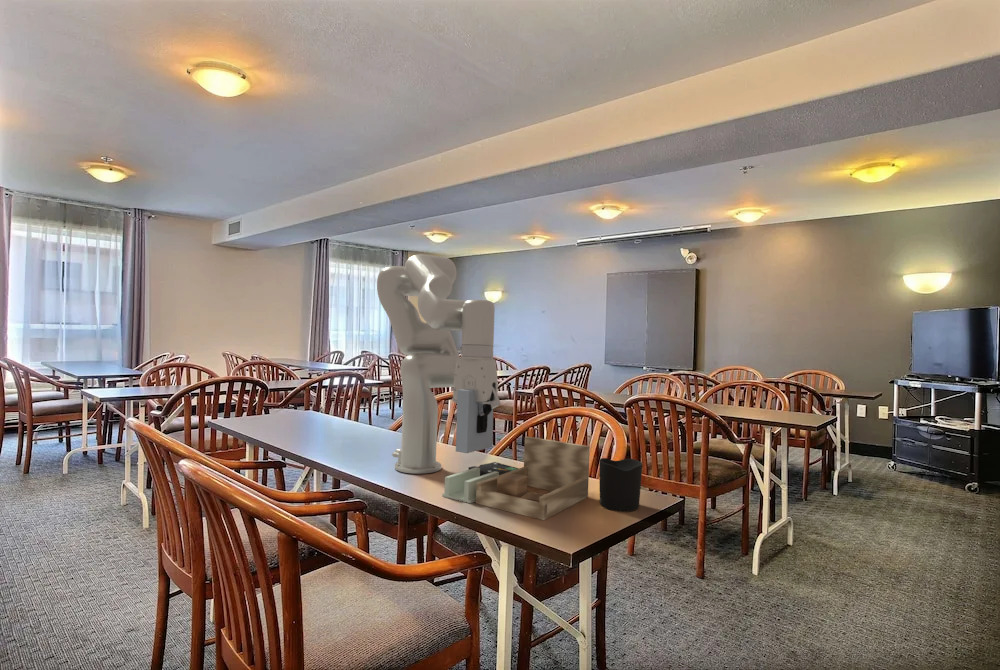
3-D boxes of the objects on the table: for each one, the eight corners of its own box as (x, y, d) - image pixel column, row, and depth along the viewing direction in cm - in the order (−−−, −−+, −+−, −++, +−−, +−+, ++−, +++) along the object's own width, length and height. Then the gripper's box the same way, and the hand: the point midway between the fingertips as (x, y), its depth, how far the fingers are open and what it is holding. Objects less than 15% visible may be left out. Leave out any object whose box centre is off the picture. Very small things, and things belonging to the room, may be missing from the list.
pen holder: (610, 497, 131) (612, 455, 131) (647, 506, 125) (649, 462, 125) (590, 505, 124) (591, 461, 124) (628, 515, 118) (630, 468, 118)
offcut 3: (519, 511, 119) (520, 497, 119) (528, 505, 123) (528, 491, 123) (541, 515, 117) (542, 501, 117) (549, 509, 121) (549, 495, 121)
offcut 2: (496, 504, 123) (496, 490, 123) (508, 499, 127) (508, 486, 127) (514, 508, 120) (515, 494, 120) (526, 503, 124) (527, 490, 124)
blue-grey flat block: (455, 451, 126) (457, 389, 126) (481, 445, 134) (483, 387, 134) (466, 453, 124) (468, 390, 124) (492, 447, 133) (494, 388, 133)
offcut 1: (496, 490, 123) (497, 477, 123) (507, 485, 127) (507, 472, 127) (517, 494, 121) (517, 480, 121) (526, 489, 125) (527, 476, 125)
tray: (475, 503, 123) (477, 449, 123) (525, 483, 140) (527, 436, 140) (543, 520, 113) (545, 461, 113) (587, 496, 131) (589, 446, 131)
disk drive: (467, 477, 147) (508, 489, 136) (467, 467, 147) (508, 478, 136) (494, 471, 154) (535, 482, 144) (494, 461, 154) (535, 471, 144)
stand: (442, 496, 127) (443, 476, 127) (473, 485, 137) (474, 467, 137) (470, 503, 122) (471, 482, 122) (500, 491, 132) (501, 472, 132)
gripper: (439, 351, 131) (437, 429, 131) (497, 354, 122) (494, 437, 122) (459, 351, 137) (457, 425, 137) (515, 354, 128) (513, 433, 128)
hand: (474, 430), depth 129 cm, fingers closed on blue-grey flat block, 3 cm apart
